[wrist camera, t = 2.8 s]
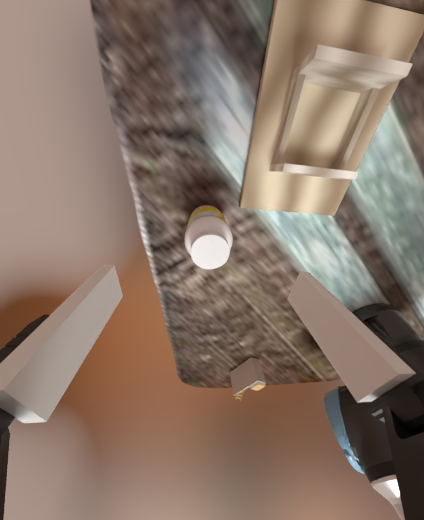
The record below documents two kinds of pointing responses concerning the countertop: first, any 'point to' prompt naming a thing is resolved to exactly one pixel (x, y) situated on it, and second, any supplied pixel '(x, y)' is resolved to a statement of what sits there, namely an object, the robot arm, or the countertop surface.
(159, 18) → the countertop surface
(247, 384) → the model
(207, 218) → the supplement bottle
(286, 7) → the bottle dock
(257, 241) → the countertop surface
